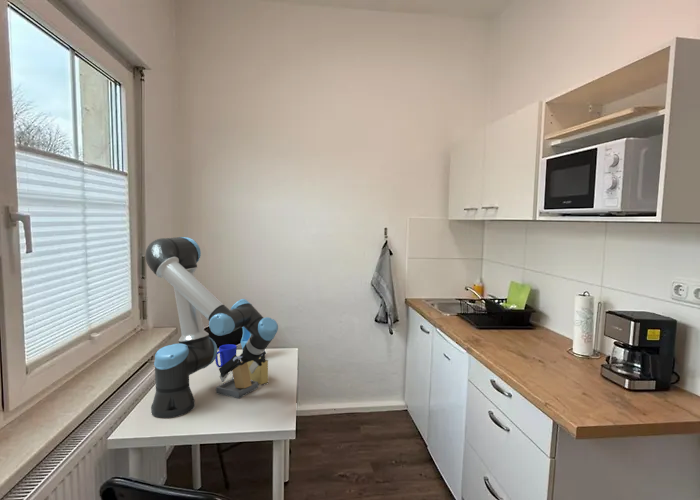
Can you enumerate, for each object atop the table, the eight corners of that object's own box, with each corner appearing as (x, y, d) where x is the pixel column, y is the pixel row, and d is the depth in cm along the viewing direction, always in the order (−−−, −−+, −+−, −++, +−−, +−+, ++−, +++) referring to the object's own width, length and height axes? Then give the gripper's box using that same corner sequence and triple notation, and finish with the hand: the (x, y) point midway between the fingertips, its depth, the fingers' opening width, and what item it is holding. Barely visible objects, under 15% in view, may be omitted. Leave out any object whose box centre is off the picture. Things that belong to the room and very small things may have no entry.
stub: (251, 385, 172) (246, 361, 172) (244, 388, 169) (239, 363, 170) (242, 385, 176) (238, 361, 177) (235, 388, 174) (230, 364, 175)
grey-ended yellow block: (268, 383, 182) (268, 360, 181) (261, 385, 179) (261, 362, 178) (253, 375, 190) (253, 353, 190) (246, 377, 188) (246, 355, 187)
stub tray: (238, 398, 166) (238, 392, 166) (216, 393, 171) (216, 387, 171) (258, 387, 177) (257, 381, 177) (236, 382, 182) (235, 377, 182)
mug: (209, 370, 197) (209, 350, 196) (228, 363, 207) (227, 343, 207) (222, 373, 193) (222, 352, 192) (240, 365, 204) (240, 345, 203)
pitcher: (241, 360, 211) (240, 321, 210) (253, 356, 217) (253, 318, 216) (250, 363, 206) (249, 324, 205) (263, 359, 212) (262, 321, 211)
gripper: (229, 363, 152) (211, 391, 164) (285, 348, 169) (265, 374, 181) (221, 346, 155) (205, 374, 167) (277, 333, 173) (258, 360, 185)
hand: (236, 374), depth 174 cm, fingers open, 13 cm apart
